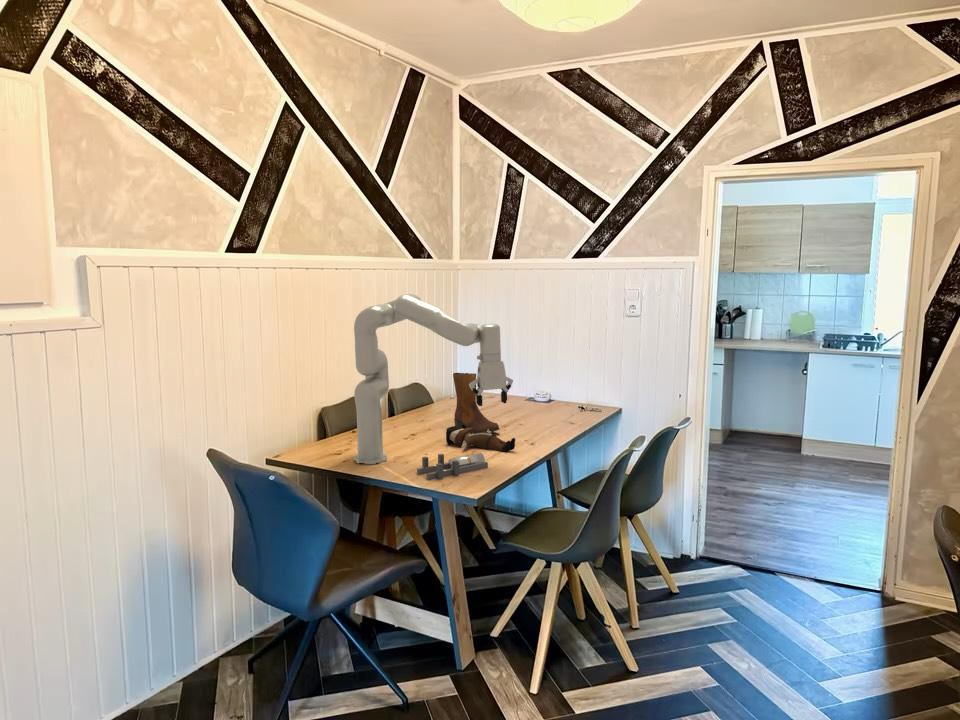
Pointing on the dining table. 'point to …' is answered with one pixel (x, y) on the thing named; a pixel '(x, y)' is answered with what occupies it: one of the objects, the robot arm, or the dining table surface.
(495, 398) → the dining table surface
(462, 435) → the toy
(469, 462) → the steel tube
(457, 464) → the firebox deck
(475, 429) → the boot
